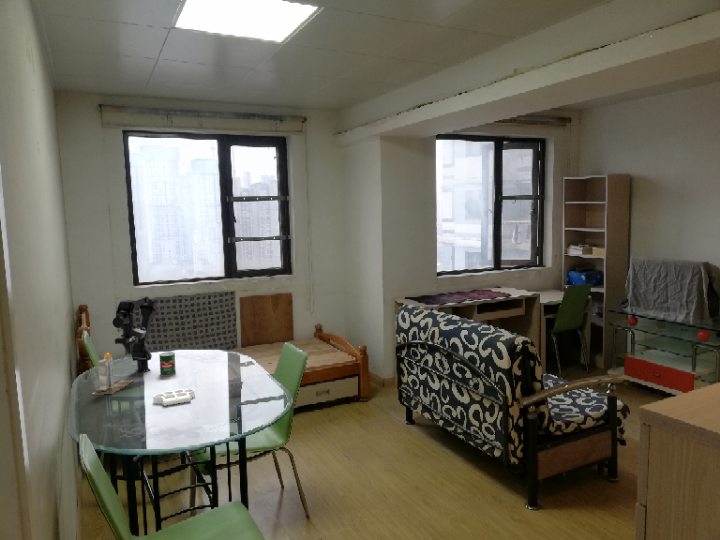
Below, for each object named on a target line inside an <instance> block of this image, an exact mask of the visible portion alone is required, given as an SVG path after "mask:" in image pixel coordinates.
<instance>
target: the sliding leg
mask: <svg viewBox="0 0 720 540" xmlns="http://www.w3.org/2000/svg"><path fill="white" fill-rule="evenodd" d="M113 358H114V357H113V356H112V354H111V352H105V353H104V356H103V359H102V360H108V375H109V387H112V386H114V381H115V375H114V362H113V361H114V360H113Z"/></svg>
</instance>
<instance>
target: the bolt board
mask: <svg viewBox="0 0 720 540" xmlns="http://www.w3.org/2000/svg"><path fill="white" fill-rule="evenodd" d="M97 366H98V380H99V381H98V383H99V387H98V388H96V389H94V392H92V393H91V395H92V396H102V395H103V396H104V394H113V393H114V394H116V393H117V392H116V391H118V390H119V391H121V390H123V389H124V388H125V386H126V387H128V386H129V385H131V384H132V383H134V380H121V379H116V380H114V386H112V387H109V375H108V360H103V359H100V360H98V361H97ZM130 383H131V384H130ZM120 389H121V390H120ZM119 391H118V392H119ZM115 392H116V393H115ZM114 394H113V395H114Z"/></svg>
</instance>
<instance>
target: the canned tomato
mask: <svg viewBox="0 0 720 540" xmlns="http://www.w3.org/2000/svg"><path fill="white" fill-rule="evenodd" d="M175 354H176V353H175V351H174V352H173V351H169V352H162V353H160V354H158V355H159V369H160V370H159V371H160V372H159V373H160V376H161V377H167V376H173V375H175V374H176V373H177V372H176V371H177V370H176V355H175Z"/></svg>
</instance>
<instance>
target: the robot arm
mask: <svg viewBox="0 0 720 540" xmlns="http://www.w3.org/2000/svg"><path fill="white" fill-rule="evenodd" d="M137 308H138V309H139V310H140V314H141V317H142V320H141V324H140V327H139V328H137V325H136V324H135V318H134V315H136V313H135V312H134V311H136V310H137ZM157 312H158V305H157V303H156V302H155V301H153V300H152V299H150V297H149V296H144V295H143V296H139V297H136V298H133V299H131V300H121V301H120V302H119V303H118V306H117V309H116V311H115V317H114V318H113V320H112V326H113V327H114V328H116V329H121V330H122V334H121V335H120V336H119V337H116V338H115V339H114V344H115V345H122V346H123V347H124V348H125V350H126V351H127V353H128V354H129V355H130V354H131V359H132V361H136V369H135V372H137V373H143V372H149V371H151V369H150V368H149V361H150V360H152V359H153V358H152V356H153V355H152V353H151V351H150V348H149V345H148V340H149V335H150V330H151V329H150V328H151V323H152V320H153V318H155V316H156V315H157ZM136 341H137V342H136ZM135 342H136V343H135Z"/></svg>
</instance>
